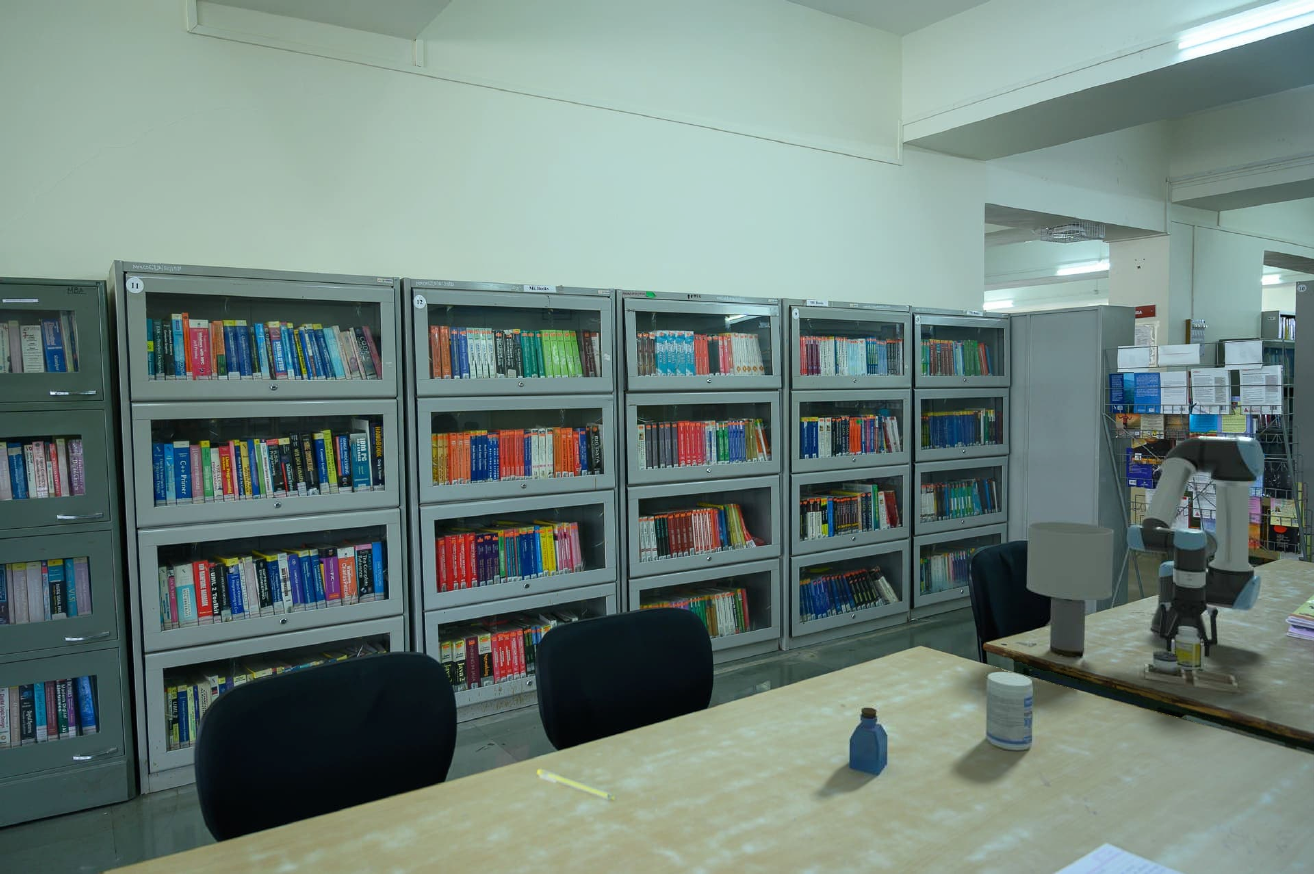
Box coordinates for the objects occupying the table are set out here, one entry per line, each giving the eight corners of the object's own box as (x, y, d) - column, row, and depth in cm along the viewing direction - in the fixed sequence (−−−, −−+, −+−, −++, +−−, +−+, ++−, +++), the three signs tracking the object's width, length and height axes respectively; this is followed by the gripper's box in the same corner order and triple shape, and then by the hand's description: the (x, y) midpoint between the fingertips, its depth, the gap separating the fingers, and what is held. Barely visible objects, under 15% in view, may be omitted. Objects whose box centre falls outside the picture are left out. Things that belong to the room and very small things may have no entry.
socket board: (1140, 670, 222) (1140, 661, 222) (1236, 685, 211) (1237, 675, 211) (1141, 683, 213) (1141, 673, 213) (1241, 699, 201) (1242, 688, 201)
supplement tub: (1035, 754, 171) (1036, 688, 170) (987, 749, 174) (989, 683, 173) (1028, 736, 180) (1029, 673, 179) (983, 731, 183) (984, 669, 182)
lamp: (1066, 637, 253) (1068, 520, 251) (1128, 660, 231) (1132, 532, 229) (1008, 645, 246) (1010, 524, 244) (1067, 669, 224) (1071, 536, 222)
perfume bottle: (878, 775, 162) (879, 718, 161) (849, 768, 165) (849, 712, 165) (887, 763, 167) (887, 708, 167) (858, 756, 171) (858, 702, 170)
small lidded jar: (1152, 671, 219) (1152, 650, 218) (1176, 674, 216) (1177, 653, 215) (1152, 677, 214) (1153, 655, 213) (1177, 681, 211) (1178, 659, 210)
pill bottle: (1192, 663, 224) (1193, 625, 224) (1205, 671, 218) (1206, 631, 217) (1169, 662, 225) (1170, 624, 224) (1181, 670, 219) (1182, 631, 218)
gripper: (1149, 583, 222) (1147, 663, 223) (1232, 591, 212) (1230, 675, 213) (1148, 577, 228) (1146, 655, 230) (1229, 585, 218) (1227, 666, 220)
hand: (1187, 665), depth 221 cm, fingers closed on pill bottle, 6 cm apart
